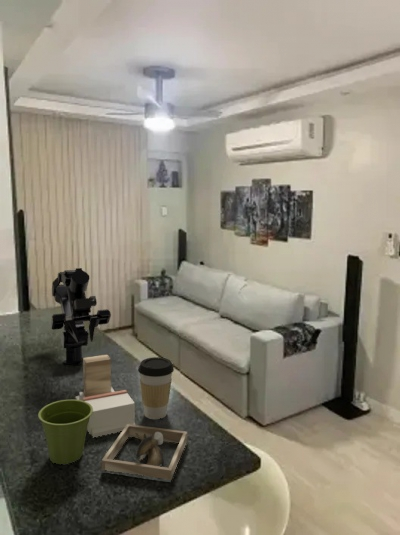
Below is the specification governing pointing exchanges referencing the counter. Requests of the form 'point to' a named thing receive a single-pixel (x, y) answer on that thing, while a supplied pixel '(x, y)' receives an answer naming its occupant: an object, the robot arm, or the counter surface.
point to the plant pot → (65, 429)
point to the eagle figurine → (151, 448)
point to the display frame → (144, 468)
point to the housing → (109, 412)
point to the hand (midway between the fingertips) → (85, 342)
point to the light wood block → (97, 375)
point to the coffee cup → (155, 386)
